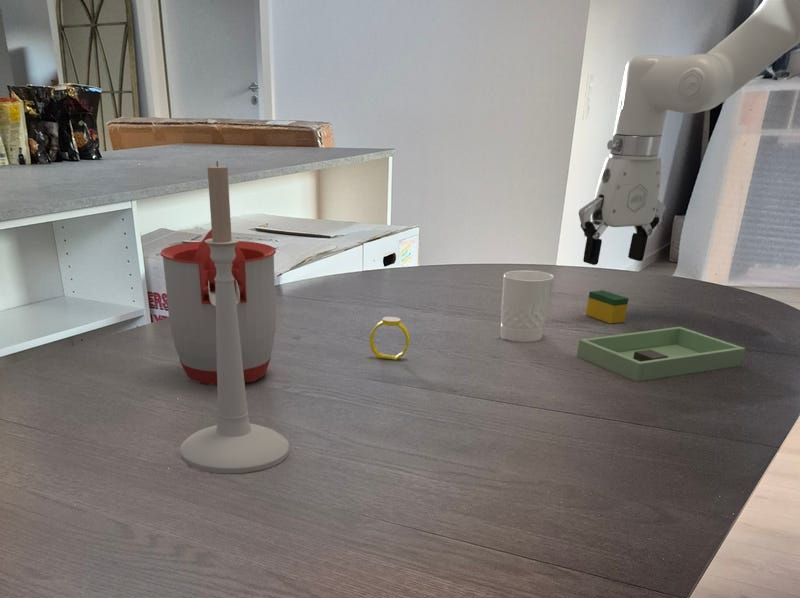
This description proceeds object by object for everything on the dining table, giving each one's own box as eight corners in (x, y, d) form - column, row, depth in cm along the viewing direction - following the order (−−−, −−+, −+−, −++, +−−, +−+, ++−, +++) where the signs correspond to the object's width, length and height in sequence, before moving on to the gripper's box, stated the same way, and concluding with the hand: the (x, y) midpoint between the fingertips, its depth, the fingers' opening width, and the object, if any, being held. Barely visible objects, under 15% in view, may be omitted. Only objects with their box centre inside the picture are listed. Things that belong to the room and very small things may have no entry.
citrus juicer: (173, 398, 116) (157, 239, 104) (172, 362, 130) (157, 218, 118) (287, 392, 118) (283, 235, 106) (273, 357, 132) (268, 215, 120)
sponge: (598, 313, 155) (602, 290, 153) (624, 322, 150) (628, 298, 147) (585, 314, 154) (589, 291, 152) (610, 323, 149) (614, 299, 146)
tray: (675, 346, 137) (679, 326, 135) (739, 369, 127) (745, 348, 125) (575, 360, 131) (579, 339, 129) (635, 385, 120) (639, 363, 118)
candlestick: (300, 436, 104) (296, 156, 87) (272, 478, 93) (261, 169, 77) (202, 428, 106) (179, 154, 89) (164, 468, 96) (129, 166, 79)
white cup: (491, 343, 138) (499, 278, 133) (501, 331, 144) (508, 268, 139) (540, 348, 136) (549, 282, 130) (548, 336, 142) (557, 272, 136)
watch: (367, 359, 131) (369, 319, 127) (371, 354, 133) (372, 315, 130) (406, 362, 130) (408, 322, 126) (409, 357, 132) (411, 317, 129)
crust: (648, 357, 130) (650, 349, 129) (666, 364, 127) (668, 356, 126) (632, 359, 129) (634, 351, 128) (650, 366, 126) (652, 358, 125)
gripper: (606, 151, 131) (585, 269, 141) (693, 148, 137) (667, 262, 147) (576, 146, 137) (558, 260, 147) (660, 144, 143) (637, 254, 152)
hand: (612, 261), depth 147 cm, fingers open, 9 cm apart
